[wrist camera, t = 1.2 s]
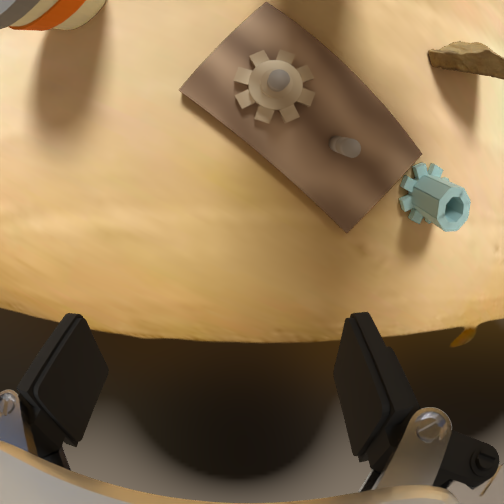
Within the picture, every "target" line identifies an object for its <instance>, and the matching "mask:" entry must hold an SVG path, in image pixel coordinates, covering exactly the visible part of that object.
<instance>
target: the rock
mask: <svg viewBox="0 0 504 504" xmlns="http://www.w3.org/2000/svg"><path fill="white" fill-rule="evenodd" d="M428 53H429V57H430V62H431V64H432V66H433V67H437V68H442V69H447V70H457V71H462V72H469V73H473V74H479V75H485V76H491V77H496V78H500V79H504V58H503V57H501V56H500V55H498V54H496V53H495V52H493V51H492V50H491V49H490V48H488V47H487V46H486V45H483V44H482V43H479V42H475V43H466V42H461V41H459V42H455V43H452V44H449V45H448V46H444V47H442V48H441V49H440V50H434V49H431V50H429V51H428Z"/></svg>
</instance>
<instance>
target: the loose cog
mask: <svg viewBox="0 0 504 504" xmlns="http://www.w3.org/2000/svg"><path fill="white" fill-rule="evenodd" d="M412 168H413V171H414V175H415V179H414V180H413V179H412V178H410V177H408V176H406V175H404V177H403V180H402V182H401V184H400V187H402V188H404V189H406V190H408V191H409V193H408V195H405V196H403V197H401V198H399V201H400V205H401V209H402V210H403V211H405V212H406V211H408V210H410V209H412V210H411V212H410V214H409V216H408V218H409V219H410V220H412V221H414V222H416V223H418V224H420V223H421V221H422V218H423V216H424V217H425V221H426V222H427V223H428V224H430V223H434V224H435V225H436V226H438V227H439V228H441V229H442V230H443V231H445V232H447V231H457V230H459V228H460V227H461V226H462V225H463V224H464V223H465V221H466V220H467V218H468V215H469V209H470V203H471V202H470V199H469V197H468V195H467V193H466V191H465V189H464V188H463V187H461V186H458V185H456V184H454V183H452V182H449V179H448V178H445V177H444V178H440V177H441V174H442V172H443V169H441V168H440V167H438V166H437V165H435V164H432V163H431V165H430V167H429V170H428V171H427V167H426V164H425V163H422V162H421V163H419V164H417V165H414V166H412Z"/></svg>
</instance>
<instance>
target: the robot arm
mask: <svg viewBox="0 0 504 504" xmlns="http://www.w3.org/2000/svg"><path fill="white" fill-rule="evenodd" d="M107 376H108V366H107V364H106V362H105V360H104V358H103V356H102V354H101V352H100V350H99V348H98V346H97V344H96V341H95V339H94V337H93V335H92V332H91V330H90V328H89V326H88V323H87V321H86V319H84V318H83V316H82V315H80V314H72V313H68V314H66V315H65V316H64V318H63V319H62V320H61V322H60V323H59V324H58V326H57V327H56V328H55V330H54V331H53V333H52V334H51V336H50V337H49V338H48V340H47V341H46V343H45V344H44V346H43V347H42V349H41V350H40V352H39V353H38V355H37V356H36V358H35V359H34V361H33V362H32V364H31V365H30V367H29V369H28V370H27V372H26V373H25V375H24V376H23V378H22V380H21V381H20V383H19V385H18V386H17V389H18V391H19V392H20V394H19V396H18V395H17V393H16V392H14V391H13V390H4V391H2V392H0V504H504V463H503V464H502V465H501V464H499V455H498V453H497V451H496V449H495V448H494V447H493V446H491V445H489V444H487V443H484V442H481V441H479V440H476V439H473V438H471V437H468V436H466V435H463V434H460V433H458V432H456V431H453V430H452V426H451V421H450V420H449V418H448V416H447V415H446V414H445V413H444V412H443V411H441V410H439V409H437V408H432V407H429V408H423V409H421V408H420V406H419V404H418V402H417V399H416V397H415V395H414V393H413V390H412V388H411V386H410V384H409V382H408V380H407V378H406V375H405V373H404V371H403V369H402V367H401V365H400V363H399V361H398V359H397V357H396V355H395V353H394V351H393V350H392V348H391V347H386V345H385V343H384V341H383V339H382V337H381V335H380V333H379V331H378V329H377V327H376V325H375V323H374V322H373V320H372V318H371V316H370V314H369V313H368V312H362V313H352V314H351V315H350V318H346V320H345V323H344V328H343V333H342V337H341V342H340V346H339V351H338V355H337V359H336V363H335V367H334V380H335V384H336V388H337V392H338V395H339V399H340V403H341V407H342V411H343V415H344V419H345V423H346V428H347V432H348V436H349V440H350V444H351V449H352V453H353V455H354V456H358V458H359V462H363V461H367V460H369V463H370V467H371V468H372V471H371V472H370V474H369V475H368V477H367V479H366V480H365V482H364V484H363V485H362V487H361V488H360V490H359V491H358V493H353V494H346V495H340V496H334V497H328V498H321V499H313V500H303V501H292V502H278V503H220V502H206V501H196V500H195V501H194V500H187V499H178V498H172V497H166V496H160V495H155V494H150V493H145V492H140V491H135V490H131V489H127V488H123V487H120V486H116V485H112V484H109V483H105V482H102V481H99V480H96V479H93V478H90V477H87V476H84V475H81V474H78V473H76V472H73V471H71V469H70V466H69V464H68V461H67V458H66V456H65V453H64V450H63V447H62V444H63V441H64V442H65V443H66V444H69V445H72V446H75V447H77V444H78V441H81V440H82V438H83V435H84V432H85V430H86V427H87V425H88V422H89V419H90V417H91V414H92V412H93V409H94V407H95V404H96V401H97V400H98V397H99V394H100V392H101V390H102V387H103V385H104V383H105V381H106V378H107Z"/></svg>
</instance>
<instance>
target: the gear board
mask: <svg viewBox="0 0 504 504" xmlns="http://www.w3.org/2000/svg"><path fill="white" fill-rule="evenodd" d="M179 91H180V92H182V93H183V94H185V95H186V96H187V97H189V98H190V99H191V100H193V101H194V102H195V103H197V104H198V105H199V106H201V107H202V108H203V109H205V110H206V111H207V112H209V113H210V114H211V115H213V116H214V117H215V118H216V119H218V120H219V121H220V122H222V123H223V124H224V125H225V126H227V127H228V128H229V129H230V130H232V131H233V132H234V133H235V134H237V135H238V136H239V137H240V138H242V139H243V140H244V141H245V142H247V143H248V144H249V145H250V146H251V147H253V148H254V149H255V150H256V151H257V152H259V153H260V154H261V155H262V156H263V157H264V158H266V159H267V160H268V161H269V162H270V163H271V164H273V165H274V166H275V167H276V168H277V169H278V170H279V171H281V172H282V173H283V174H284V175H285V176H286V177H287V178H288V179H290V180H291V181H292V182H293V183H294V184H295V185H296V186H297V187H298V188H300V189H301V190H302V191H303V192H304V193H305V194H306V195H307V196H308V197H309V198H310V199H311V200H313V201H314V202H315V203H316V204H317V205H318V206H319V207H320V208H321V209H322V210H323V211H324V212H325V213H326V214H327V215H328V216H329V217H330V218H331V219H332V220H334V221H335V222H336V223H337V224H338V225H339V226H340V227H341V228H342V229H343V230H344V231H345V232H346V233H348V232H349V231H350V230H351V229H352V228H353V227H354V226H355V225H356V224H357V223H358V222H359V221H360V220H361V219H362V218H363V217H364V216H365V215H366V214H367V213H368V211H369V210H370V209H371V208H372V207H373V206H374V205H375V204H376V203H377V202H378V201H379V200H380V199H381V198H382V197H383V196H384V195H385V194H386V193H387V192H388V191H389V190H390V189H391V188H392V186H393V185H394V184H395V183H396V182H397V181H398V180H399V179H400V178H401V177H402V176H403V175H404V174H405V172H406V171H407V170H408V169H409V168H410V167H411V166H412V165H413V164H414V163H415V162H416V160H417V159H418V158H419V157H420V156H421V155H422V153H421V152H420V150H419V149H418V148H417V146H416V145H415V143H414V142H413V141H412V139H411V138H410V137H409V135H408V134H407V133H406V132H405V130H404V129H403V128H402V126H401V125H400V124H399V123H398V121H397V120H396V119H395V118H394V117H393V115H392V114H391V113H390V112H389V111H388V109H387V108H386V107H385V106H384V105H383V104H382V103H381V101H380V100H379V99H378V98H377V97H376V96H375V95H374V94H373V93H372V91H371V90H370V89H369V88H368V87H367V86H366V85H365V84H364V83H363V82H362V81H361V80H360V79H359V78H358V77H357V76H356V75H355V74H354V73H353V72H352V71H351V70H350V69H349V68H348V67H347V66H346V65H345V64H344V63H343V62H342V61H341V60H340V59H339V58H337V57H336V56H335V55H334V54H333V53H332V52H331V51H330V50H329V49H327V48H326V47H325V46H324V45H323V44H322V43H320V42H319V41H318V40H317V39H316V38H315V37H313V36H312V35H311V34H310V33H308V32H307V31H306V30H305V29H303V28H302V27H301V26H299V25H298V24H297V23H296V22H294V21H293V20H292V19H290V18H289V17H287V16H286V15H285V14H283V13H282V12H280V11H279V10H278V9H276V8H275V7H273V6H272V5H270V4H269V3H267V2H265V3H264V4H263V5H262V6H261V7H259V8H258V9H257V10H256V11H255V12H254V13H252V14H251V15H250V16H249V17H248V18H247V19H246V20H245V21H243V22H242V23H241V24H240V25H239V26H238V27H237V28H236V29H235V30H234V31H233V32H232V33H231V34H230V35H229V36H228V37H227V38H226V39H225V40H224V41H223V42H222V43H221V44H220V45H219V46H218V47H217V48H216V49H215V50H214V51H213V52H212V53H211V54H210V55H209V56H208V57H207V58H206V59H205V60H204V61H203V63H202V64H201V65H200V66H199V67H198V68H197V69H196V70H195V71H194V73H193V74H192V75H191V76H190V77H189V78H188V79H187V81H186V82H185V83H184V84H183V85H182V87H181V88H180V89H179Z"/></svg>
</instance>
